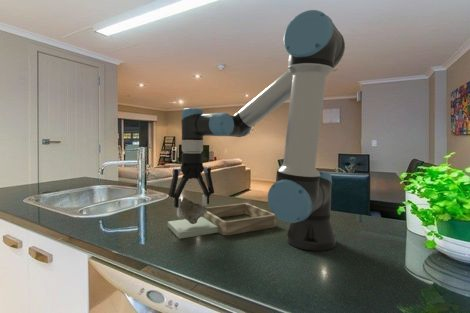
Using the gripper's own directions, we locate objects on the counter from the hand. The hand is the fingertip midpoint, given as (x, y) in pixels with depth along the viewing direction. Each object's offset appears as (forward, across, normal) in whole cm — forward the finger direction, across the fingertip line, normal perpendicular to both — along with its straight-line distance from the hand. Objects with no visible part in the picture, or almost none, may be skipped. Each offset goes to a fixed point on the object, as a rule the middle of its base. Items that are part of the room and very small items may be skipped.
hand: (192, 214), depth 99 cm
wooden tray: (+5, -18, 0) cm, 19 cm away
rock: (+1, 0, +3) cm, 3 cm away
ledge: (+5, 0, 0) cm, 5 cm away
